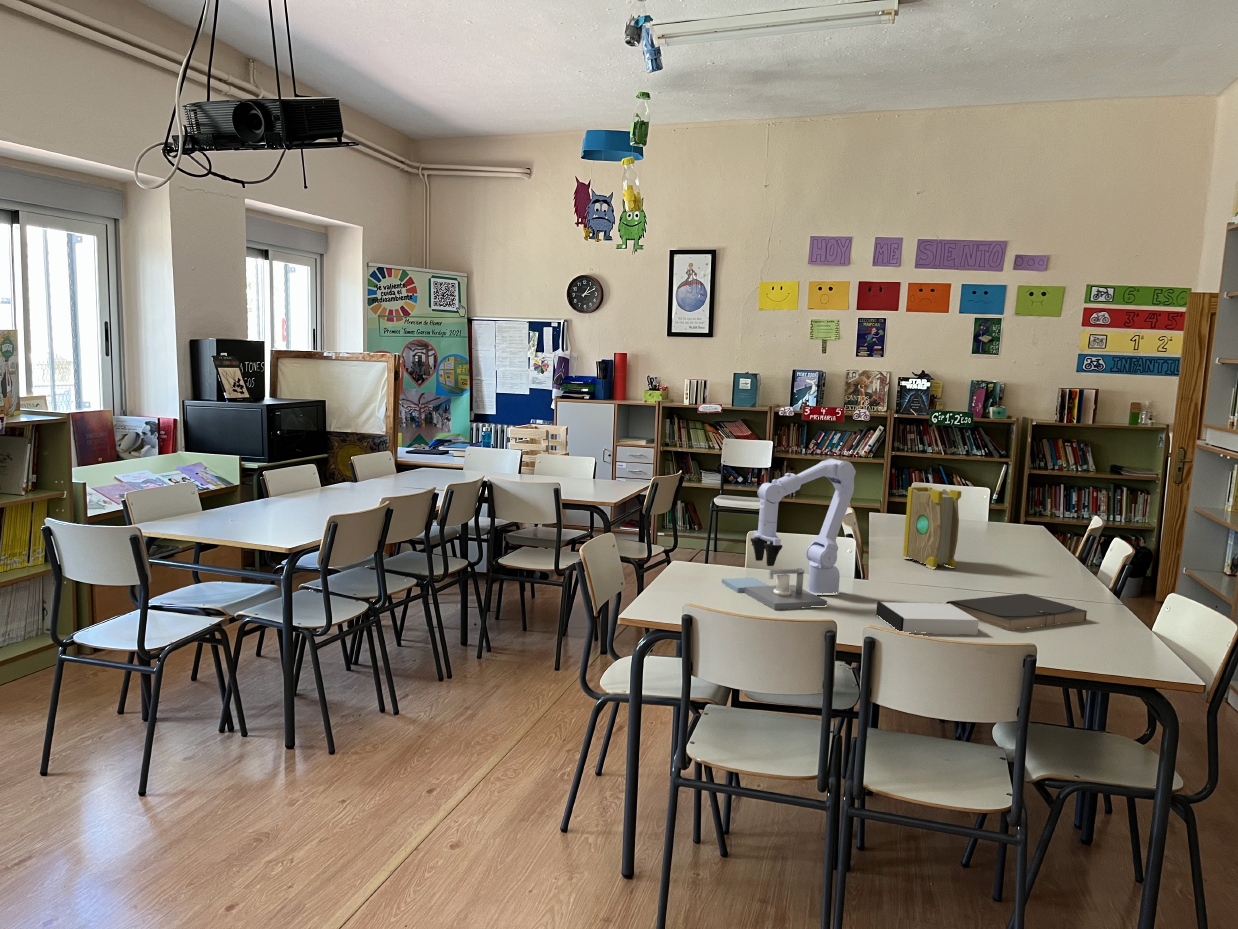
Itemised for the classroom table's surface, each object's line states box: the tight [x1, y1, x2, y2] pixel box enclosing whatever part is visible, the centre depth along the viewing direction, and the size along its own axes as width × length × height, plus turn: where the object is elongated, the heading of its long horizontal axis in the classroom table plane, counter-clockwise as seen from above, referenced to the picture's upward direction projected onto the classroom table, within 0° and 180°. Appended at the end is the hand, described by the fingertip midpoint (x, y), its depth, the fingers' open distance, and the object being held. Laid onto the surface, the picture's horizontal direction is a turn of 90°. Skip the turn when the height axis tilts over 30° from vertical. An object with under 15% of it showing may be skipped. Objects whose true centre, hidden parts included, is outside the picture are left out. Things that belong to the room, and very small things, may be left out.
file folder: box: [945, 593, 1088, 631], centre depth 257 cm, size 33×4×24 cm
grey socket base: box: [743, 573, 828, 611], centre depth 263 cm, size 18×20×8 cm
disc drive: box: [875, 600, 980, 636], centre depth 242 cm, size 18×22×5 cm
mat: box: [721, 577, 770, 593], centre depth 278 cm, size 12×12×2 cm
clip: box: [768, 567, 805, 580], centre depth 263 cm, size 12×2×3 cm, turn 108°
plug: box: [773, 574, 791, 596], centre depth 263 cm, size 5×5×8 cm
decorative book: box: [902, 486, 962, 568], centre depth 325 cm, size 20×11×30 cm, turn 18°
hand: (764, 563), depth 267 cm, fingers open, 7 cm apart
